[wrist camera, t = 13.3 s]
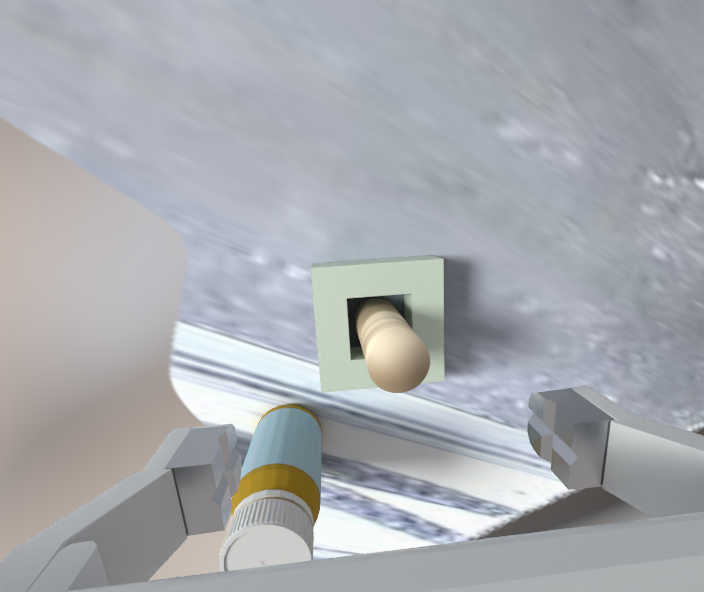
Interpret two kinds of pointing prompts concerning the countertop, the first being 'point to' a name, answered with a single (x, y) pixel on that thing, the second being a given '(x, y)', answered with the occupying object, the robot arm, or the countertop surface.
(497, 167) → the countertop surface
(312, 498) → the bottle
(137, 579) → the robot arm
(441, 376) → the socket
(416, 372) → the peg
